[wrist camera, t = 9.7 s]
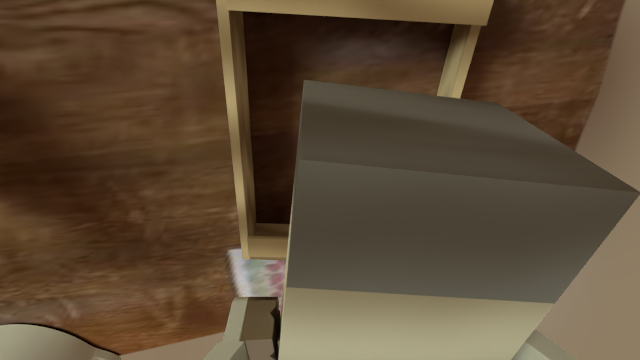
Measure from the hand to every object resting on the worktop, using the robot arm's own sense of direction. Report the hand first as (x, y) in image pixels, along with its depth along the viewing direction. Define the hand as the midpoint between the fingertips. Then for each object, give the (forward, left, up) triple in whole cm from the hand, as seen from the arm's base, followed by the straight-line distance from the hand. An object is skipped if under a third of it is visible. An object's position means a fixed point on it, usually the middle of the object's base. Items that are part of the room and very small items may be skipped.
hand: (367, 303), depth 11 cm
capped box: (0, 0, -2) cm, 2 cm away
